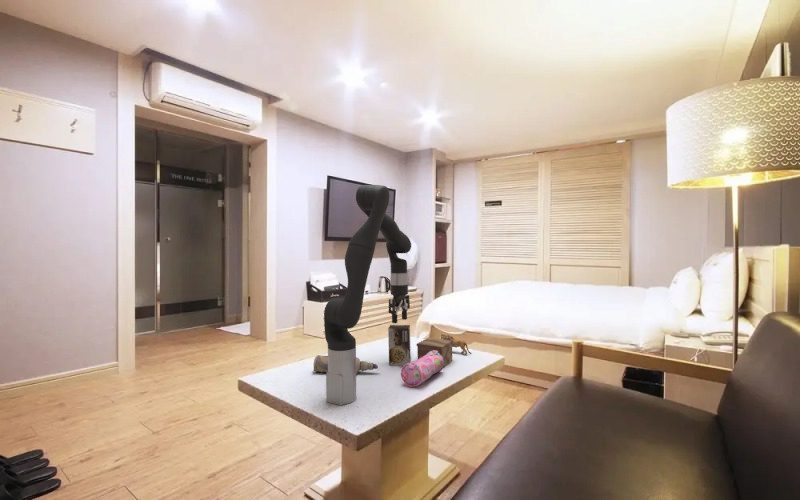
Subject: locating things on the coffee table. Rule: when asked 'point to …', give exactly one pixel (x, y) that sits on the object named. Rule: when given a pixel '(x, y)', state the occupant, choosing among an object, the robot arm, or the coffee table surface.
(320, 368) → the decorative bottle
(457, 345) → the lion figurine
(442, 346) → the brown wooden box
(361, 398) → the coffee table surface
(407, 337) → the coffee box
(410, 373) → the pencil case
